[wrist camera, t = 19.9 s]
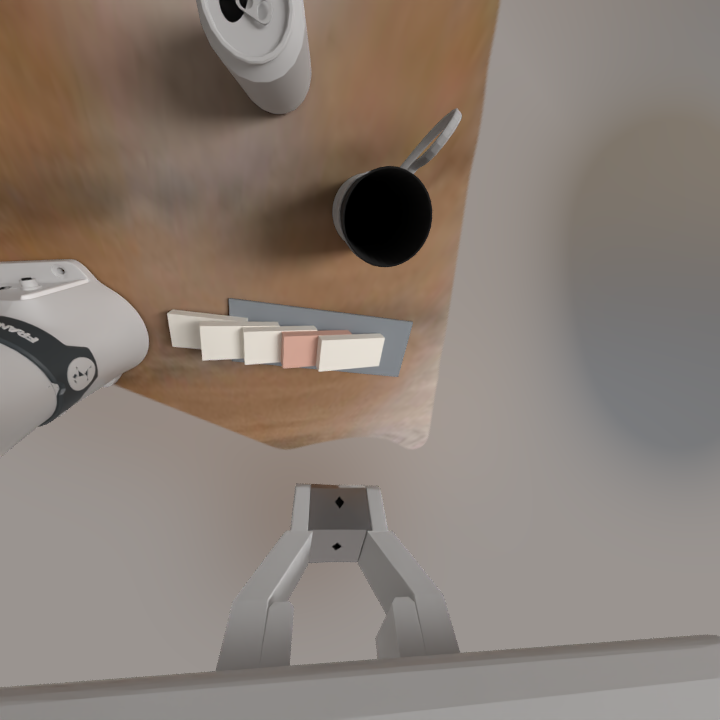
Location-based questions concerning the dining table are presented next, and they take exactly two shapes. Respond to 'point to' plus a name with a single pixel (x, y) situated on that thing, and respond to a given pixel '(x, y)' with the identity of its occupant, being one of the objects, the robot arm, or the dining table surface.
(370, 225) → the grey mug
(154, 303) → the dining table surface
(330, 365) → the domino
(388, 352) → the mat
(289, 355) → the domino
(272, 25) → the can
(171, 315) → the domino
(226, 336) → the domino
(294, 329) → the domino
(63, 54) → the dining table surface
